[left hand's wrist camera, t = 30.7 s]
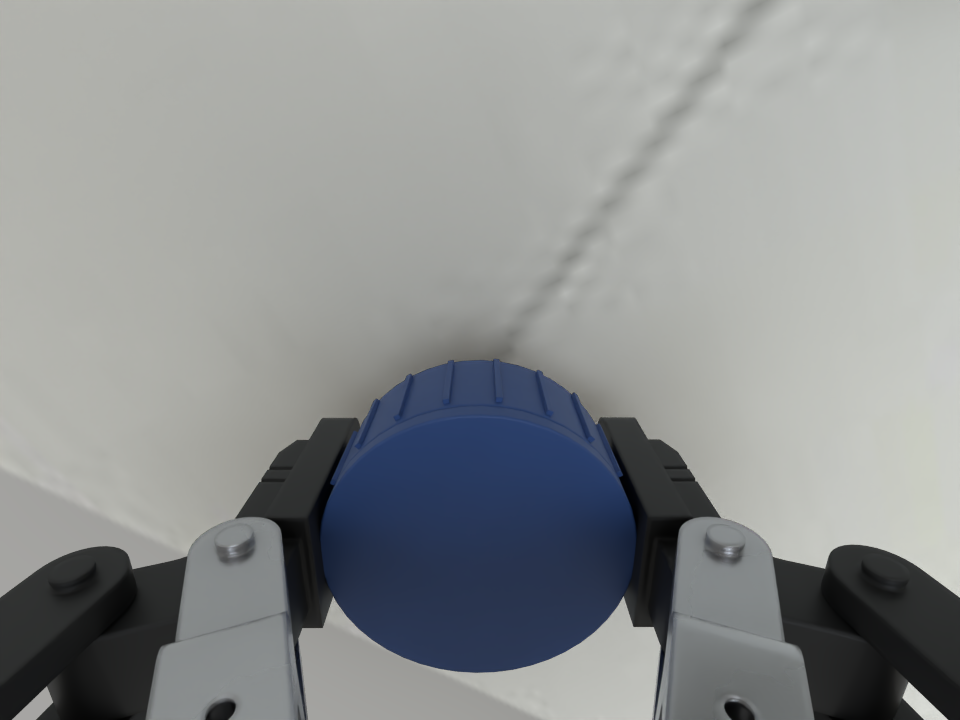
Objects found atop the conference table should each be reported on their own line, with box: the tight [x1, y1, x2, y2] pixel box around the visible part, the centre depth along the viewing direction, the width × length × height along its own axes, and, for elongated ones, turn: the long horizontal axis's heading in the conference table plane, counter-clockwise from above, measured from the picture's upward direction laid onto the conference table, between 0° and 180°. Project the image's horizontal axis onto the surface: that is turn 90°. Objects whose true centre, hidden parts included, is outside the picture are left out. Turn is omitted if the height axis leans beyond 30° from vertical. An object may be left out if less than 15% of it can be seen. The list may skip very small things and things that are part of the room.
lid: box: [320, 359, 637, 673], centre depth 10 cm, size 5×5×2 cm
